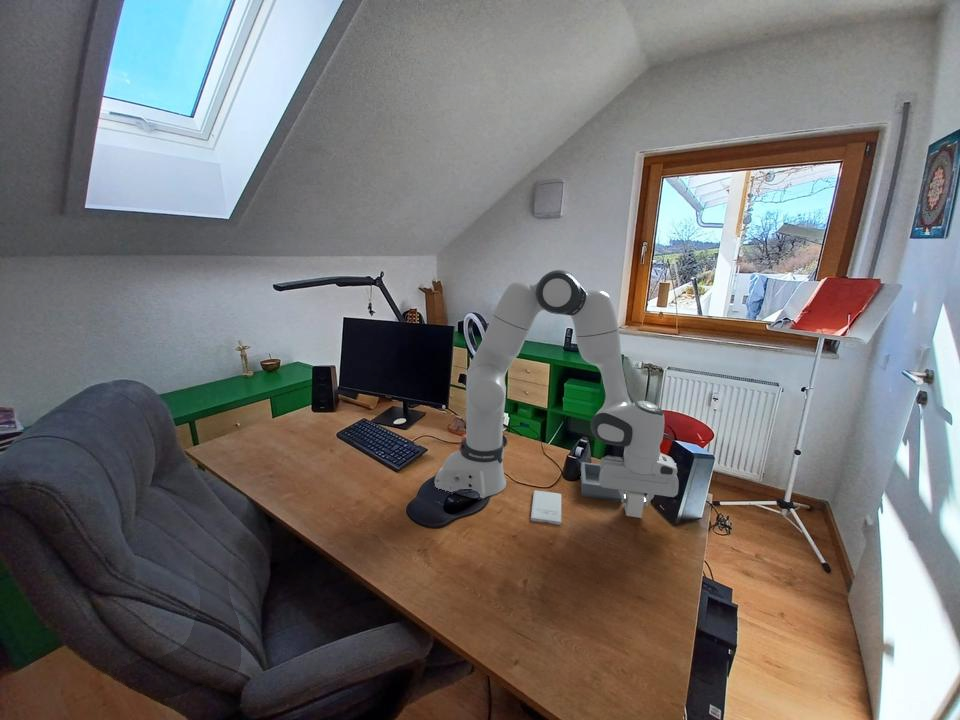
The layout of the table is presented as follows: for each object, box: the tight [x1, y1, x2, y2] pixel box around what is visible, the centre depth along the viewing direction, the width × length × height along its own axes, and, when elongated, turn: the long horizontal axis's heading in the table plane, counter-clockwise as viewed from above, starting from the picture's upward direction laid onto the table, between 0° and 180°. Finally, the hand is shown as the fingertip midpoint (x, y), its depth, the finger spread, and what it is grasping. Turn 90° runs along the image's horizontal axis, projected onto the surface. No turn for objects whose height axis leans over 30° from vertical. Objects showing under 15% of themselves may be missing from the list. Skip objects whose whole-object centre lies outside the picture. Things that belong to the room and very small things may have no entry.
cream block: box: [623, 491, 646, 519], centre depth 108 cm, size 4×4×7 cm
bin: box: [579, 461, 626, 503], centre depth 119 cm, size 12×12×4 cm
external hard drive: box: [530, 489, 562, 526], centre depth 110 cm, size 2×8×12 cm
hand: (634, 503), depth 108 cm, fingers closed on cream block, 4 cm apart
